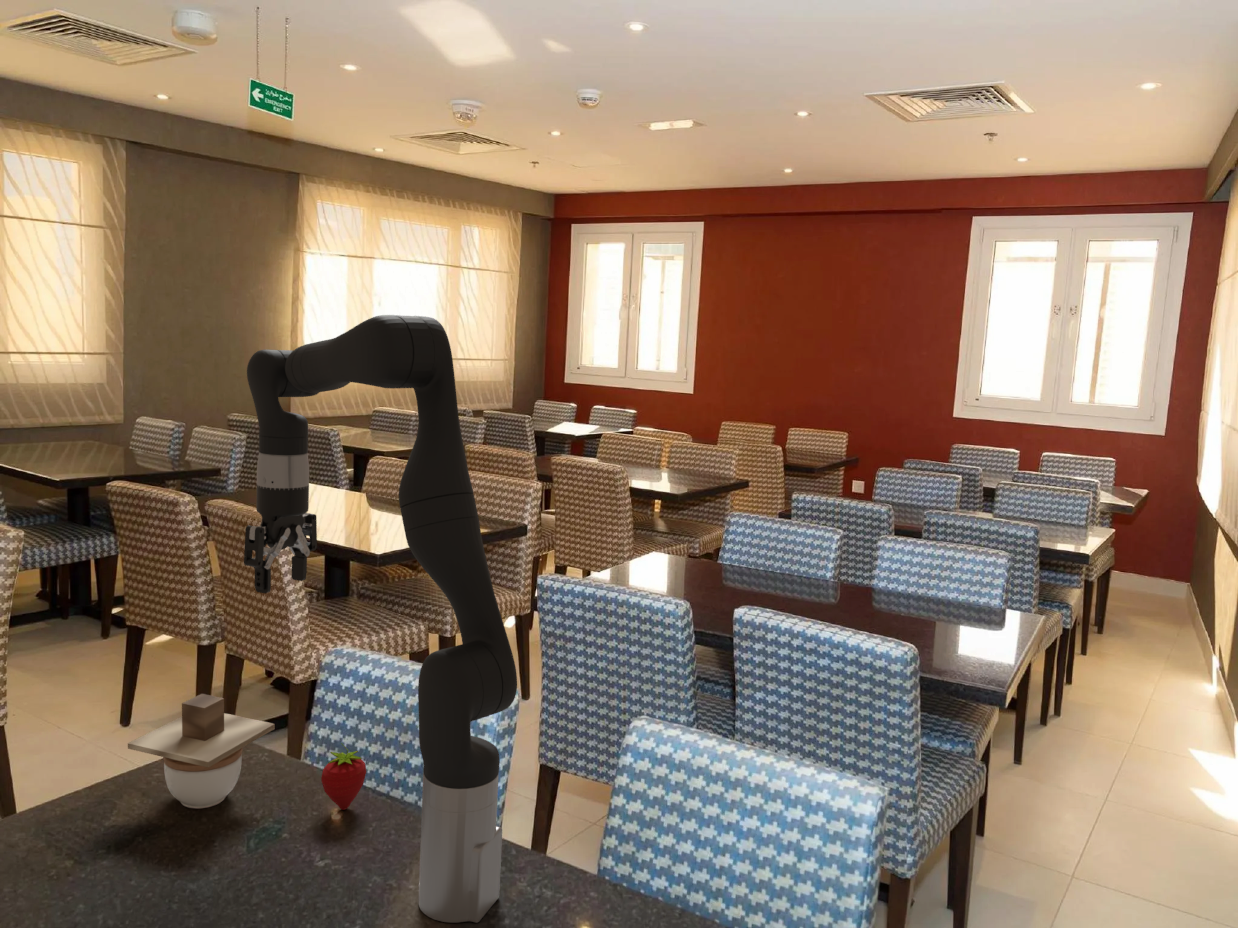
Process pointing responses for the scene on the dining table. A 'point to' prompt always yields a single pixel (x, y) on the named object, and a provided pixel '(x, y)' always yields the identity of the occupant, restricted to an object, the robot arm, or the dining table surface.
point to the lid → (202, 733)
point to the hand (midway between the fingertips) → (281, 585)
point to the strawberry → (343, 778)
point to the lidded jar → (202, 780)
